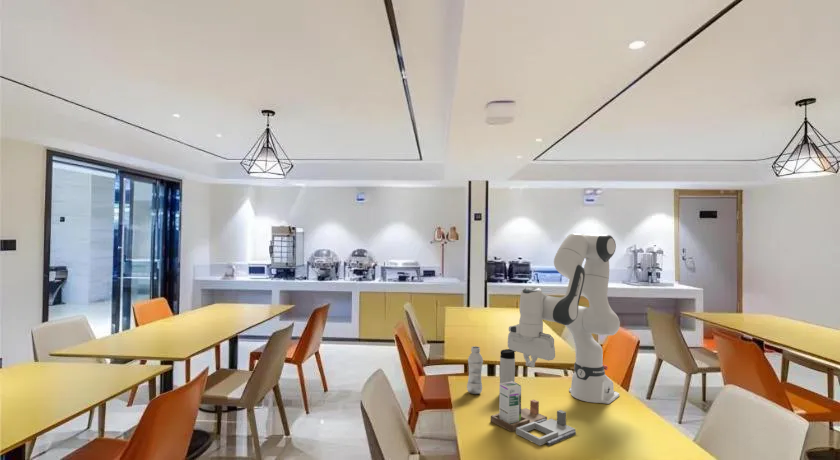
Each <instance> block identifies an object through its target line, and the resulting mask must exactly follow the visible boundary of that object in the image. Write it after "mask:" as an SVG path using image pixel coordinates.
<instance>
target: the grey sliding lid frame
mask: <svg viewBox="0 0 840 460" xmlns="http://www.w3.org/2000/svg"><path fill="white" fill-rule="evenodd" d="M532 430H537V431H539V432H541V433H544V434H545V435H543V436H537V435H534V434H532V433H530V431H532ZM571 431H575V432H576V428H575V427H573V426H570V425H568V424H567V411H564V410H562V409H559V410H556V420H555V419H553V418H549V419H547V420H546V421H544V422H541V423H536V422H531V423H529V424H526V425H523V426H520V427H517V428H516V430H515V434H516V435H518V436H519V437H522V438H523V439H526V440H527V441H530V442H531V443H534V444H536V445H537V446H539V447H540V446H542V445H545V444H547V441H549V440H552V439H554V438H557V437H559V436H561V435H564V434H566V433H569V432H571Z"/></svg>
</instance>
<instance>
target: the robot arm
mask: <svg viewBox="0 0 840 460" xmlns="http://www.w3.org/2000/svg"><path fill="white" fill-rule="evenodd" d="M616 248H617V246H616V240H615V239H614V237H613V236H612V235H610V234H605V233H601V234H599V233H583V234H581V233H576V232H575V233H569V234H568V236H567V237H565V239H564V240H563V242H562V243H561V245H560V246H559V248H558V250H557V252H556V253H555V255H554V258H553V266H554V268H555V270H556V271H557V272H558V273H559V274H560V275H561V276H563V277H565V278H567V279H568V280H569V281H568V284H567V289H566V292H565V295H563V296H560V297H557V296H552V295H548V294H545V293H544V292H543V291H542V288H541V287H540V288H539V287H533V286H532V287H526V288H523V289H522V290H521V293H520V298H519V315H520V317H519V319H518V320H519V322H518V323H517V324H515V325H510V326H508V332H509V333H508V335H507V349H510V350H513V351H516V353H521V354H523V355H522V356H523V359H524V361H525V366H526V367H529V368H532V369H533V368H535V367H536V362H537V360H538V359H542V360H545V361H554V359H555V358H556V348H555V338H553V336H552V335H551V334H549V333H545V332H543V331H544V328H543V327H544V321H547V322H554V323H557V324H561V325H564V326H565V327H566V329H568V331H569V333H570V335H571V337H572V339H573V343H574V348H575V362H574V364H573V365H574V366H573V367H574V368H573V371H574V372H573V373H572V377H571V383H570V384H571V386H570V388H569V389H568V392H570V394H571V397H573V398H575V399H577V400H580V401H582V402H588V403H595V404H596V403H597V404H599V403H600V404H606V405H609V404H612V402H613V401H615V400H616V399H618V398H619V397H620V393H619V392H618V391H615V390H614V382H613V380H611V378H610V377H608V376H607V375H606V372H605V371H608V369H609V366H608V365H606V364H603V363H604V362H603V360H604V359H603V353H604V352H603V351H604V350H603V346H601V344H600V343H598V341H597V340H595V338H594V336H593V335H598V336H614V335H616V334H617V333H618V331H619V330H620V327H621V322H620V318H619V316H618V315H617V313H616V312H615V311H614V310H613V308H612V307H611V306H610V302H609V299H608V290H609V289H608V288H609V280H610V259H611V258H612V257H613V256H614V254H615V253H616ZM584 260H585V262H584ZM583 263H584V265H583ZM581 296H583V297H584V298H586V299H587V300H588V303H589V304H588V305H589V306H581V305H579V304H580V299H581ZM543 320H544V321H543ZM530 357H531V360H530Z"/></svg>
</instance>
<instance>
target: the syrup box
mask: <svg viewBox="0 0 840 460" xmlns="http://www.w3.org/2000/svg"><path fill="white" fill-rule="evenodd" d="M498 407H499V412H498V413H499V419H501V420H503V421H505V422H507V423H509V424H513V423H516V422H519V421H521V409H522V385H521V384H519V383H517V382H516V381H515V382H513V381H511V382H504V383H500V382H499V406H498Z"/></svg>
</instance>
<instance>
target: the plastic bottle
mask: <svg viewBox="0 0 840 460" xmlns="http://www.w3.org/2000/svg"><path fill="white" fill-rule="evenodd" d="M470 349H471V350H470V352H471V353H470V354H469V356H468V358H467V364H468V379H467V384H466V390H467V392H468V393H469V394H472V395H473V394H474V395H479V394H481V393H482V391H483V384H482V371H483V368H482V367H483V363H484V358H483V356H482V354H481V347H480V346H476V345H475V346H471V348H470Z"/></svg>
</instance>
